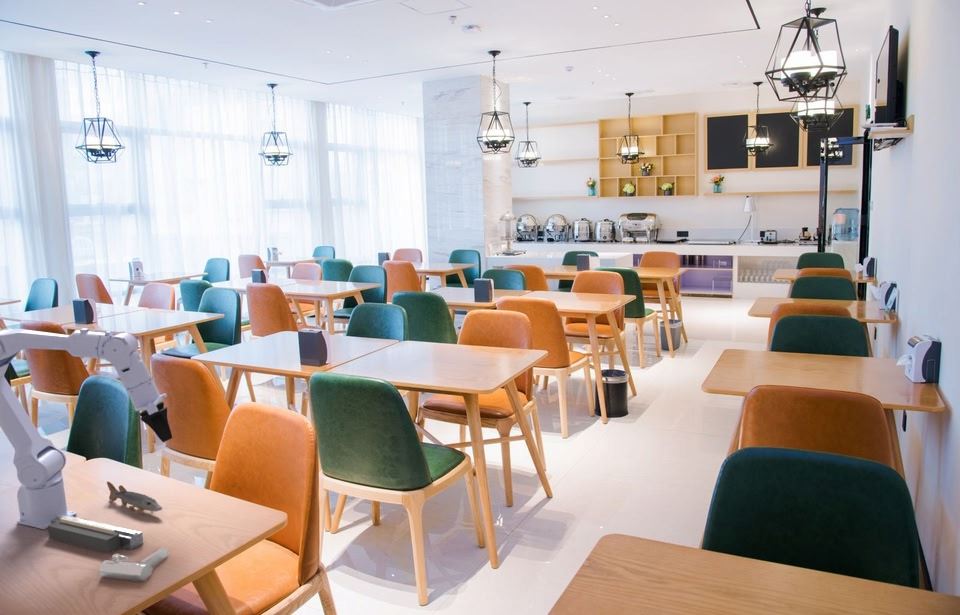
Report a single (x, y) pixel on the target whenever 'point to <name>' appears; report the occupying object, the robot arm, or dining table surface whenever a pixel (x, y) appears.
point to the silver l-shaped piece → (131, 566)
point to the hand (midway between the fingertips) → (166, 437)
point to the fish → (133, 499)
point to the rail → (127, 536)
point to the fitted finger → (84, 535)
